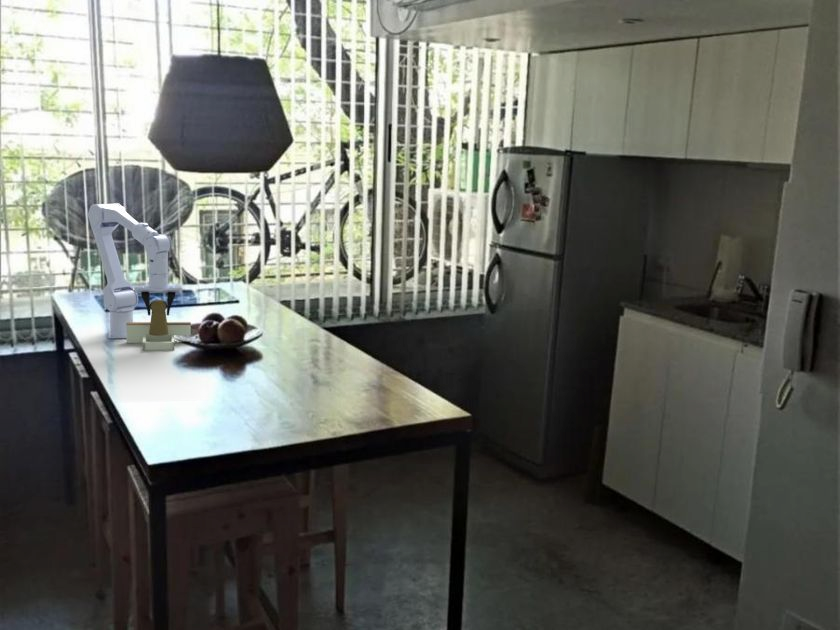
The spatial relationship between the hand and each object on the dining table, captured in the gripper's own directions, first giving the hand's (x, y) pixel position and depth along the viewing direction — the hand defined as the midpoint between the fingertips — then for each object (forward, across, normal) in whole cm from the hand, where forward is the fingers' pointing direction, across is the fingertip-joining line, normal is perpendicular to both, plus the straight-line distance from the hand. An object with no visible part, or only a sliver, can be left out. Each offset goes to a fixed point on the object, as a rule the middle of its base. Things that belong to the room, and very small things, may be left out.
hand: (158, 314), depth 263 cm
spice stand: (+10, 0, 0) cm, 10 cm away
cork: (+6, 0, -1) cm, 6 cm away
